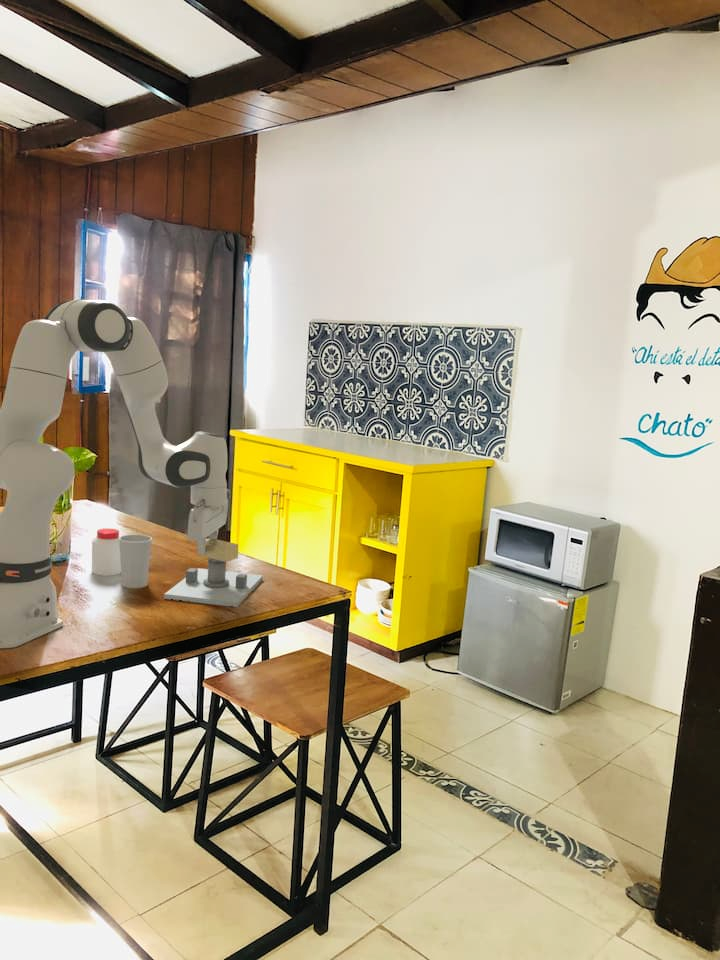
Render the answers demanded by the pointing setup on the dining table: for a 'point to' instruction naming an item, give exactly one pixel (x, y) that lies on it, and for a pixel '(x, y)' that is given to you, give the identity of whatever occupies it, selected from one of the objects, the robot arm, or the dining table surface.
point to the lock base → (214, 586)
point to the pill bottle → (106, 553)
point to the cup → (134, 560)
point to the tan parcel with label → (220, 551)
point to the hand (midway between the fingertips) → (207, 549)
